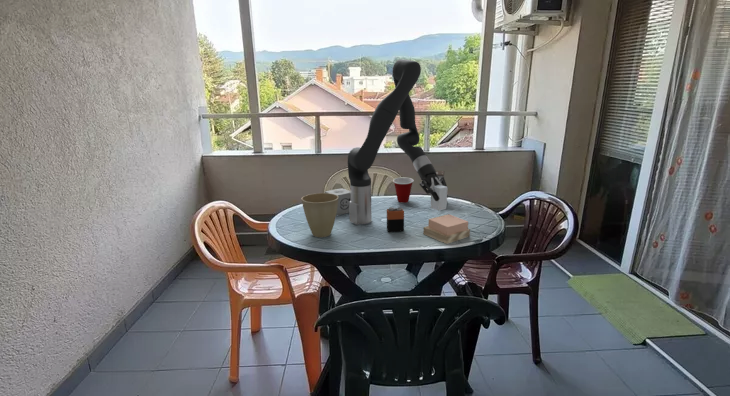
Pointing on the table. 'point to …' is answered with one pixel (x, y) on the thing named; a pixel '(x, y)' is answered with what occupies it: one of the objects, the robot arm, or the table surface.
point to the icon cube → (342, 200)
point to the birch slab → (444, 237)
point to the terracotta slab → (448, 224)
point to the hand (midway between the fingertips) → (442, 199)
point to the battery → (395, 219)
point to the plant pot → (320, 212)
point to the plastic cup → (403, 188)
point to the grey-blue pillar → (442, 195)
